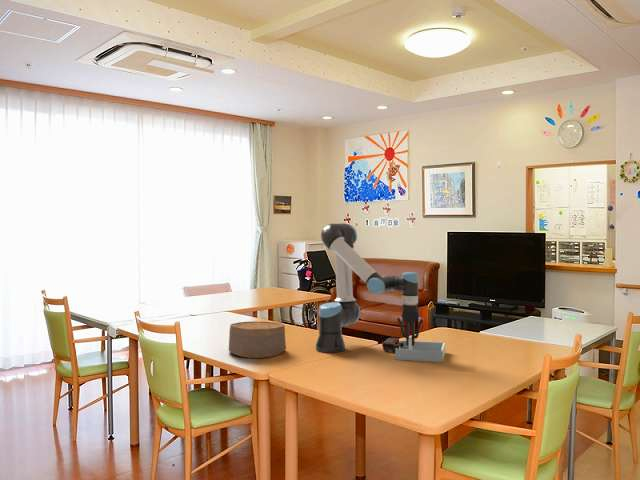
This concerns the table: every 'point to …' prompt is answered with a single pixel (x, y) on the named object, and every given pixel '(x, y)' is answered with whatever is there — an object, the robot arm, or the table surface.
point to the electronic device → (391, 344)
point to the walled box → (421, 351)
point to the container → (257, 339)
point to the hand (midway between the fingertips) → (410, 352)
